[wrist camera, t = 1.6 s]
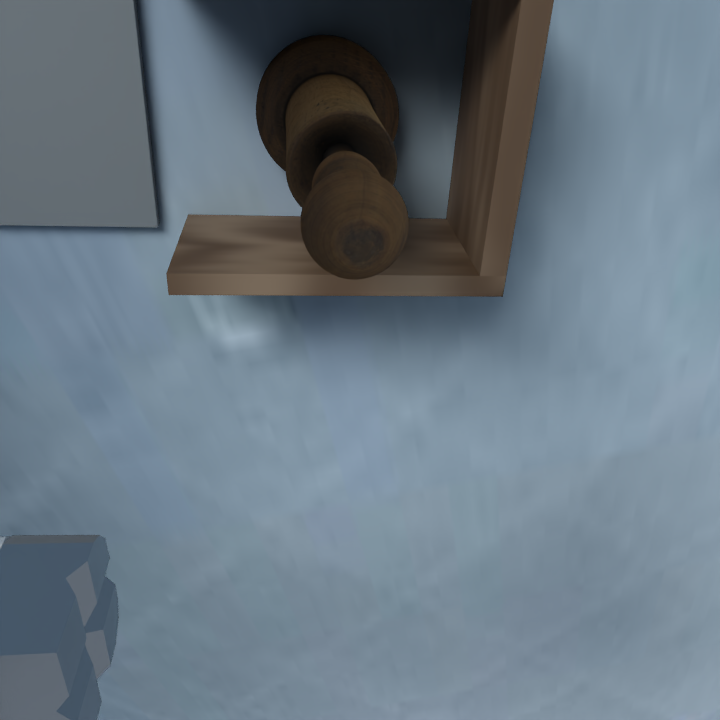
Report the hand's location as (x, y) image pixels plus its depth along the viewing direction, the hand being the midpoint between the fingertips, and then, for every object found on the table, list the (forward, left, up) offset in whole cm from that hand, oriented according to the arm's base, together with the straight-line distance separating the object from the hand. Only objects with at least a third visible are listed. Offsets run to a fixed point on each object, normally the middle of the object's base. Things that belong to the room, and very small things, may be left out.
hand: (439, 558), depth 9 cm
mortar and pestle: (0, 0, -29) cm, 29 cm away
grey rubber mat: (-14, 0, -29) cm, 32 cm away
